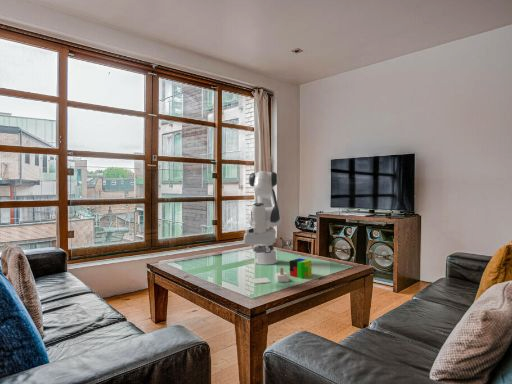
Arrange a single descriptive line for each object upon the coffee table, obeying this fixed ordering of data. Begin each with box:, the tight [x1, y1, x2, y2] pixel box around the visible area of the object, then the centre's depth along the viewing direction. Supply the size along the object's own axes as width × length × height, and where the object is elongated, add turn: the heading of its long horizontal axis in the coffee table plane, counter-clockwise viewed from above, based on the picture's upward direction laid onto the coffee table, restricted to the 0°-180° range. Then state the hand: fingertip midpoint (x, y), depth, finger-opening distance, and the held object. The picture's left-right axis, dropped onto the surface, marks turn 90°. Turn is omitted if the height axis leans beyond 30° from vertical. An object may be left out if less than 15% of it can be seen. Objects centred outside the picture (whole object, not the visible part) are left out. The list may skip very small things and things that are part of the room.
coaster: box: [251, 277, 271, 285], centre depth 208 cm, size 10×10×1 cm
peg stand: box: [274, 266, 290, 283], centre depth 209 cm, size 7×7×8 cm
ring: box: [253, 246, 266, 254], centre depth 208 cm, size 6×6×2 cm
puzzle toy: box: [289, 257, 312, 279], centre depth 219 cm, size 10×10×10 cm
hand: (260, 251), depth 208 cm, fingers closed on ring, 6 cm apart
